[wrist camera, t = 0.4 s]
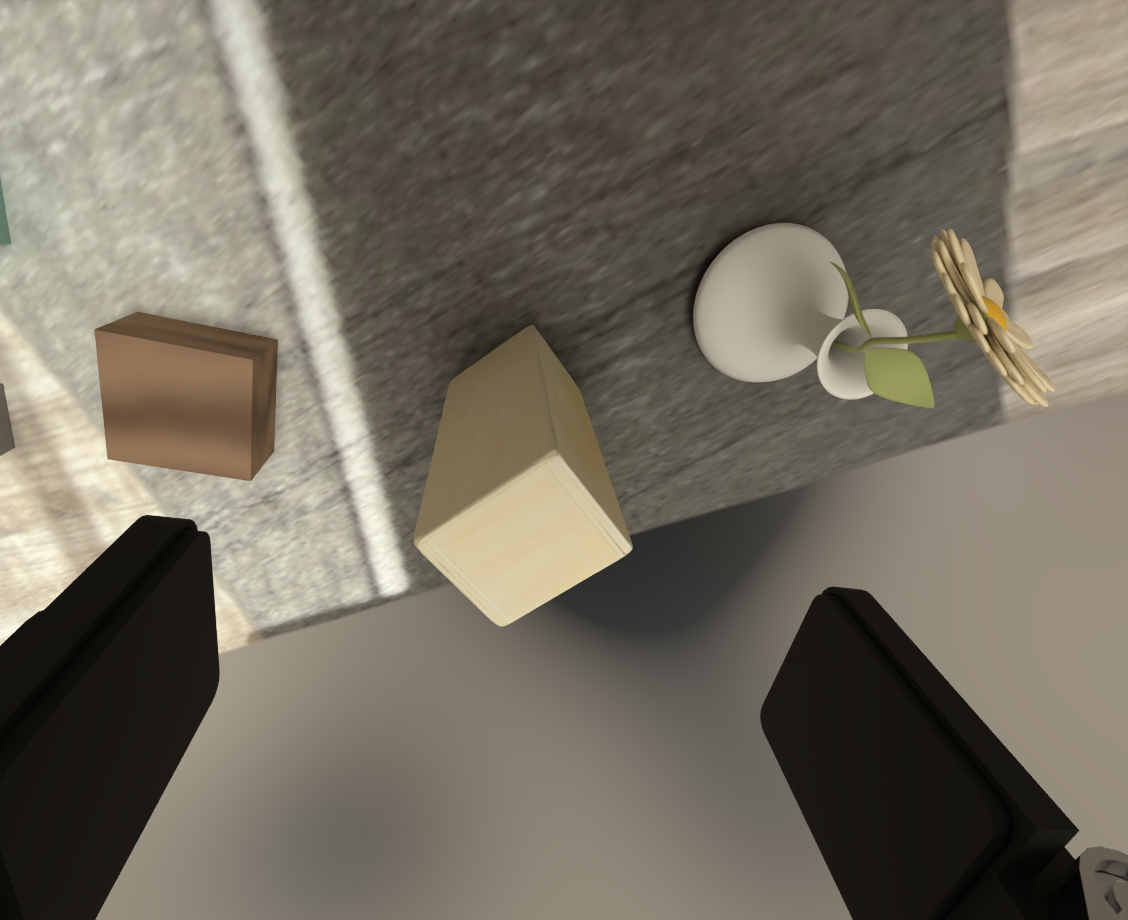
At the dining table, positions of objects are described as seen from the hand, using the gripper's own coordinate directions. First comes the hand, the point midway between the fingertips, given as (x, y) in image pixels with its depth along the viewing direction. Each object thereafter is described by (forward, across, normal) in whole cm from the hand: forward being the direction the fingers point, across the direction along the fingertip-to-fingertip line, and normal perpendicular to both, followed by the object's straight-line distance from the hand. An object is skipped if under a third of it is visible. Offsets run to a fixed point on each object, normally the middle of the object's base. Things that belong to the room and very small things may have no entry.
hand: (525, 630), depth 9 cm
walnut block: (+36, +20, +12) cm, 43 cm away
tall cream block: (+36, -2, +8) cm, 37 cm away
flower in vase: (+36, -19, -2) cm, 40 cm away
